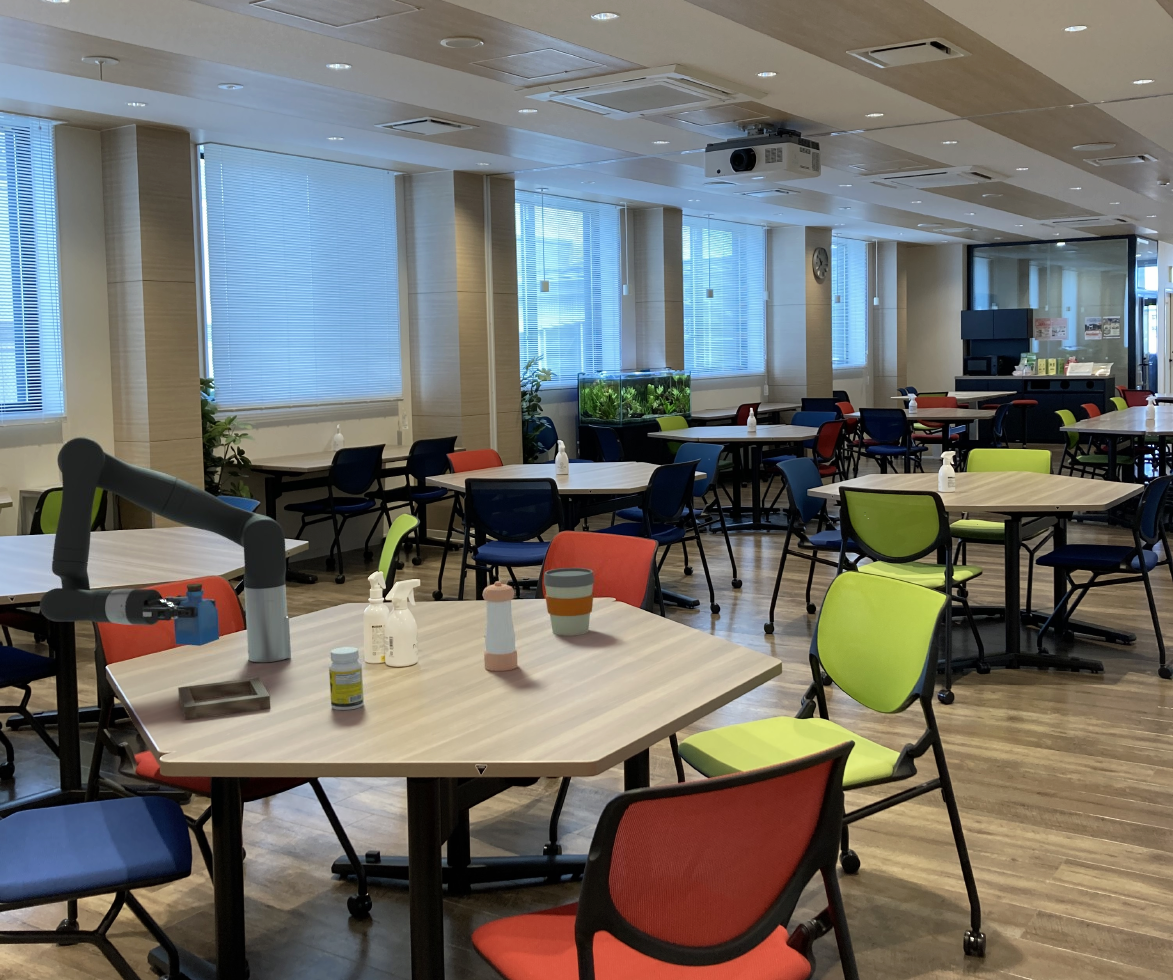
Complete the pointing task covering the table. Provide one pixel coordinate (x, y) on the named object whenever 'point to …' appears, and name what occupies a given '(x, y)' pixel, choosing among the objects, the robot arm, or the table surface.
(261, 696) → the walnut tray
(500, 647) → the pepper shaker
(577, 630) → the reusable coffee cup
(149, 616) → the robot arm
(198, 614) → the perfume bottle
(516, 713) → the table surface
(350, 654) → the supplement bottle
